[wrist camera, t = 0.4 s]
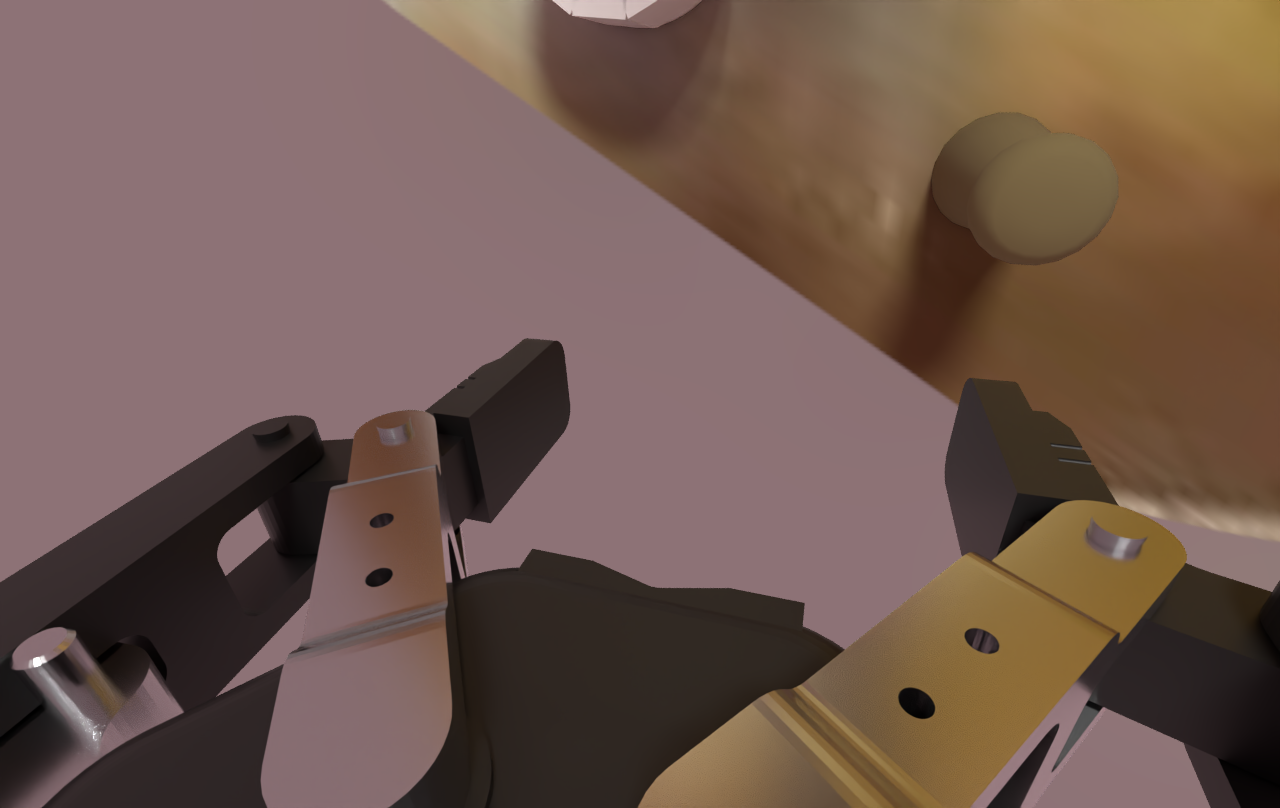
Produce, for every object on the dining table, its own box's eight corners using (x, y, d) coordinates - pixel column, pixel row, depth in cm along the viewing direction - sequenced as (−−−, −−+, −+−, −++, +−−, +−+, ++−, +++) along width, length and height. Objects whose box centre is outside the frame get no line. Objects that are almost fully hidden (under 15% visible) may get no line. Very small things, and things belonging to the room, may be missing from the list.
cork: (914, 217, 34) (939, 266, 25) (957, 102, 31) (1003, 109, 22) (1025, 240, 33) (1093, 300, 24) (1081, 123, 30) (1184, 139, 21)
